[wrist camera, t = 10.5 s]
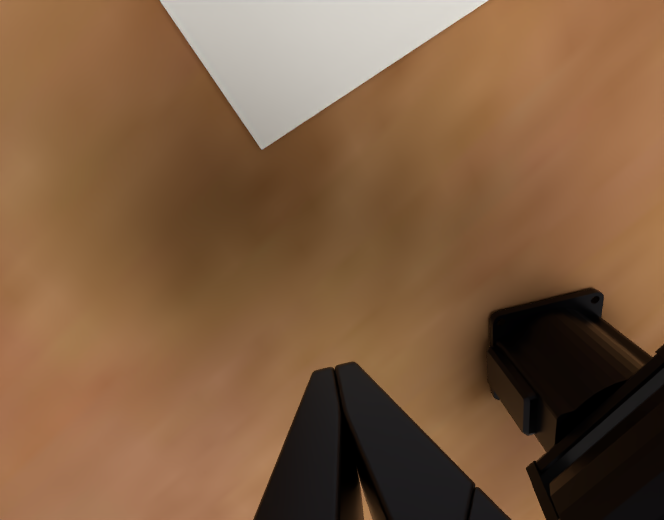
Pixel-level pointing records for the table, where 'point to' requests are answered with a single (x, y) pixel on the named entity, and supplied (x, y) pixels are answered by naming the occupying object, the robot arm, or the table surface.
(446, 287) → the table surface
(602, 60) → the table surface
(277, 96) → the base
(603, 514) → the robot arm
